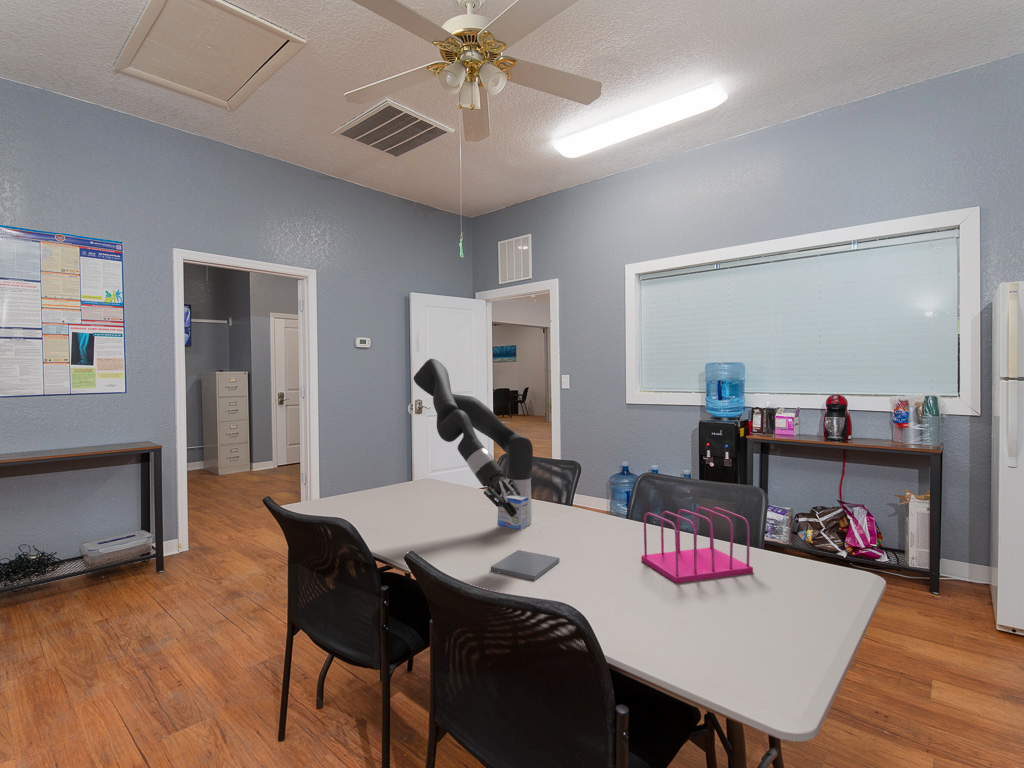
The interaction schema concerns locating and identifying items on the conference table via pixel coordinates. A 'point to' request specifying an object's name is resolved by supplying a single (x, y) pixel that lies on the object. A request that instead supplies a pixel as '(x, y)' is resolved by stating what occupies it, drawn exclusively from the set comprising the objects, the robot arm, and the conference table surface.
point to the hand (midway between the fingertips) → (518, 512)
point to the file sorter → (696, 553)
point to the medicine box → (519, 518)
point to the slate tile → (525, 564)
